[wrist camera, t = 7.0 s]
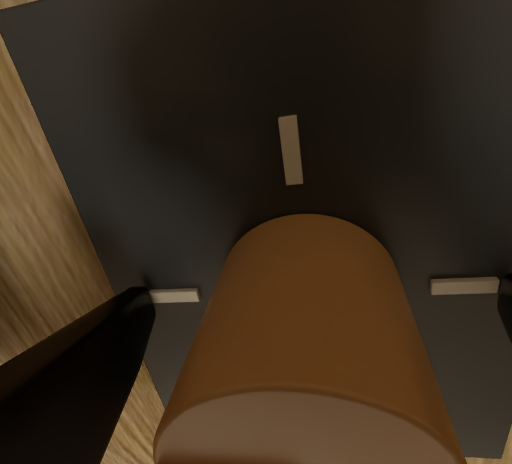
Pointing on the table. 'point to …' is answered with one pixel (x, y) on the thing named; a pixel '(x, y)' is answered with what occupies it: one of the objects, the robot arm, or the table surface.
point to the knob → (307, 359)
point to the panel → (290, 155)
